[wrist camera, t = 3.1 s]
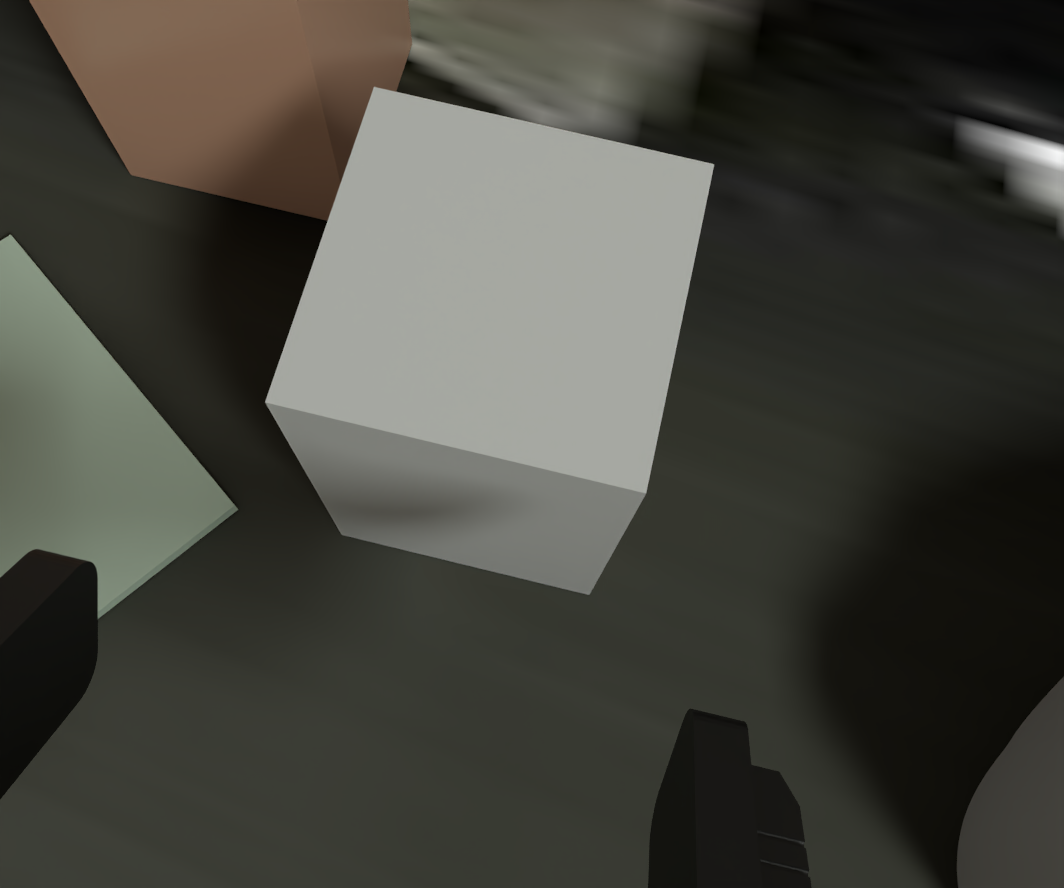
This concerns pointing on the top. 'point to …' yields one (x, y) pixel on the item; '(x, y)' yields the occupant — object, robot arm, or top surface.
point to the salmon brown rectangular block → (234, 87)
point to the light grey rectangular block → (490, 337)
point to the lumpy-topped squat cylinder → (1020, 809)
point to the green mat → (87, 448)
